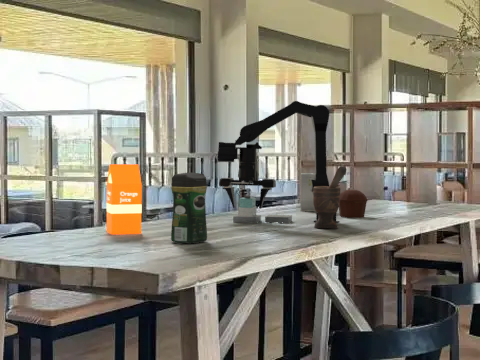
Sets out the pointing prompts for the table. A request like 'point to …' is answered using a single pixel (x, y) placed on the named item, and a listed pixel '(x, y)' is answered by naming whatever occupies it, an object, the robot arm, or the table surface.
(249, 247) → the table surface
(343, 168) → the mortar and pestle
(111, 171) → the orange juice
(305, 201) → the circuit breaker
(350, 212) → the muffin
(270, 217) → the stand
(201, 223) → the coffee jar
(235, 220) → the stand
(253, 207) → the housing
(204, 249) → the table surface
